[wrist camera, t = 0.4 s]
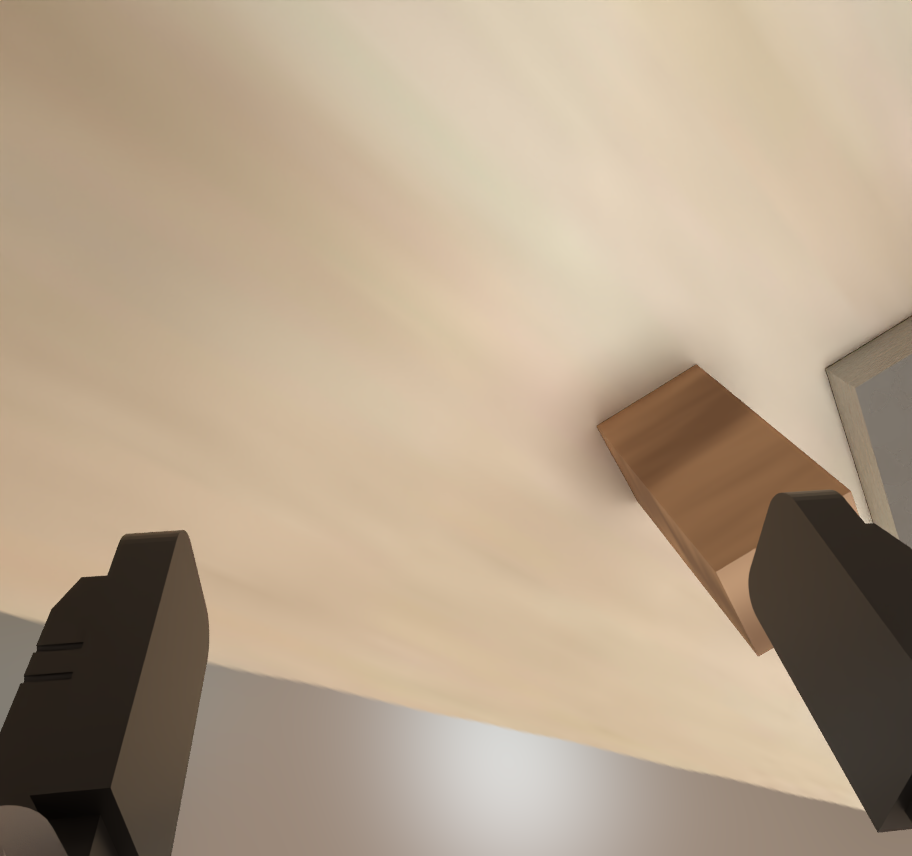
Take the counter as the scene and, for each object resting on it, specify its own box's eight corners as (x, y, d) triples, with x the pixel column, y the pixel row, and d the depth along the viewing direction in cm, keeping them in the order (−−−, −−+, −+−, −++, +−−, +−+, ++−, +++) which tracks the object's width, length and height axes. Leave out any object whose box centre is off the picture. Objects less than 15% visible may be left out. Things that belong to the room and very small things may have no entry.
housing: (596, 426, 34) (741, 602, 24) (696, 364, 34) (883, 517, 24) (637, 501, 37) (783, 688, 27) (730, 445, 36) (911, 612, 27)
